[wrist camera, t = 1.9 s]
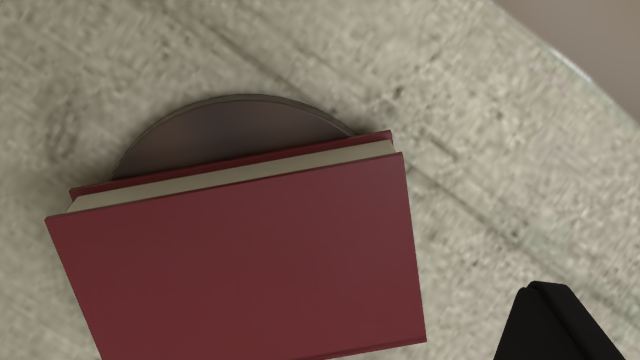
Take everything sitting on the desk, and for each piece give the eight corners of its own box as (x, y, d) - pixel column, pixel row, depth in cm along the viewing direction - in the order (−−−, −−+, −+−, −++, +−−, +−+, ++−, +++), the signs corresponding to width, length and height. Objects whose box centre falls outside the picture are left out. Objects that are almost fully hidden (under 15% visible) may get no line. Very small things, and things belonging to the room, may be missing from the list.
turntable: (153, 374, 31) (148, 388, 30) (59, 126, 25) (50, 133, 24) (414, 329, 30) (419, 341, 29) (378, 66, 25) (382, 71, 24)
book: (133, 351, 29) (116, 396, 26) (70, 188, 25) (43, 219, 22) (413, 302, 28) (427, 342, 25) (390, 129, 25) (402, 154, 22)
